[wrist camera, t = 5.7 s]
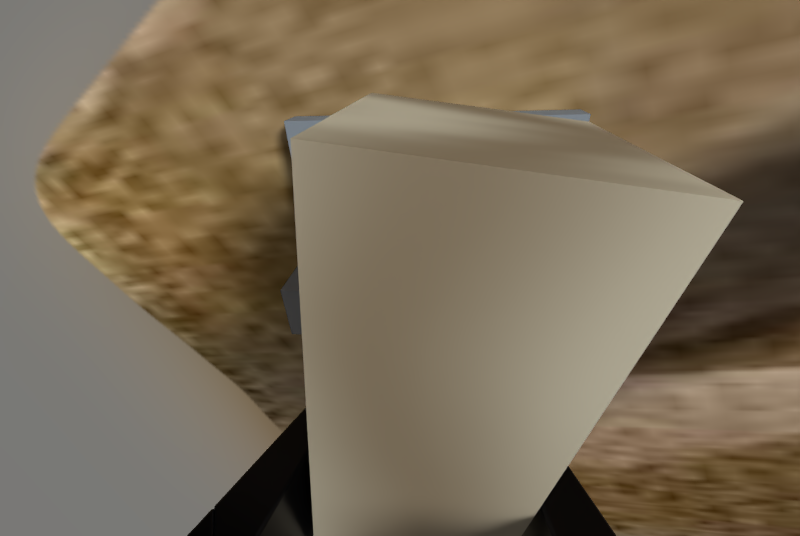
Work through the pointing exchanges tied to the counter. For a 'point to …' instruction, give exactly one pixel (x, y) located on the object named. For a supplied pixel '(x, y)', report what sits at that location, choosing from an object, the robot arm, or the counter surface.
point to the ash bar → (474, 303)
